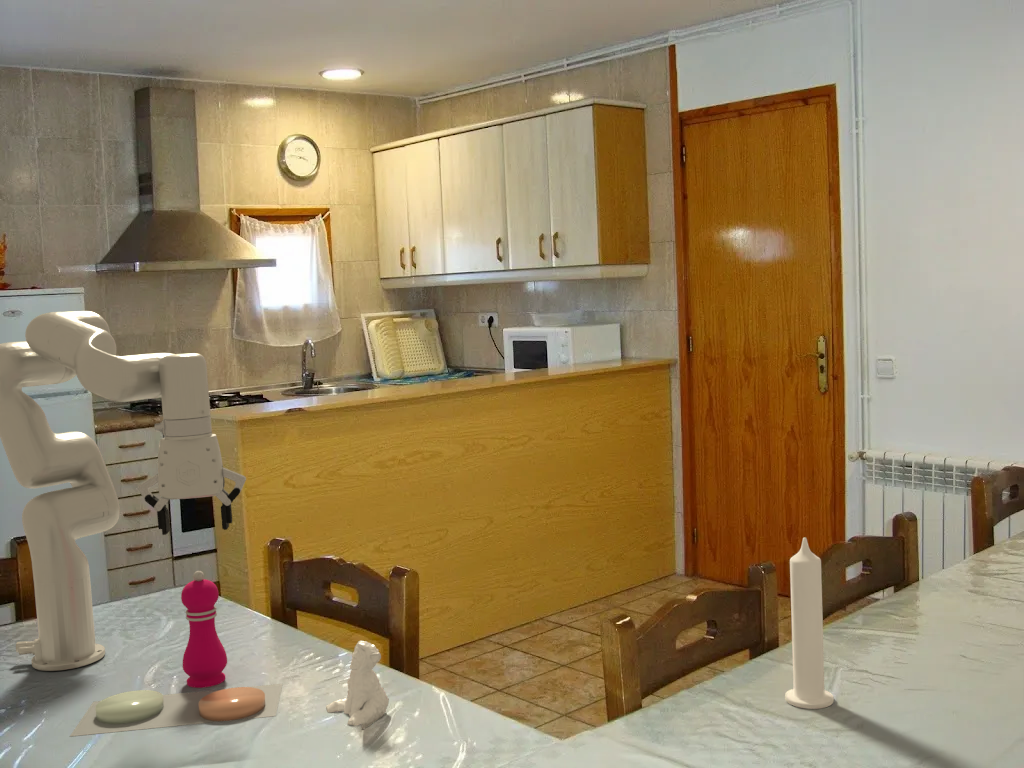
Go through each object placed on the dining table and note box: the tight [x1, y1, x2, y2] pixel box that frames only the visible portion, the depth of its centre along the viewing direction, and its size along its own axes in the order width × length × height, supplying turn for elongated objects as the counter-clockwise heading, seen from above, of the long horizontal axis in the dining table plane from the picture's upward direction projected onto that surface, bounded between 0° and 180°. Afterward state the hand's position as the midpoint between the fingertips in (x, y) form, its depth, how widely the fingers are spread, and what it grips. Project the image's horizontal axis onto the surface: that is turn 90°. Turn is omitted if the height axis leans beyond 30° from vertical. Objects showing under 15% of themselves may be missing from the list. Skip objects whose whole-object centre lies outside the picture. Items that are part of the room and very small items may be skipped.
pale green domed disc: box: [95, 689, 164, 724], centre depth 166 cm, size 10×10×2 cm
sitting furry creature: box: [325, 640, 390, 731], centre depth 161 cm, size 10×9×12 cm
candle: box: [784, 536, 835, 710], centre depth 159 cm, size 7×7×25 cm
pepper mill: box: [180, 570, 228, 689], centre depth 177 cm, size 7×7×20 cm
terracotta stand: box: [199, 686, 265, 722], centre depth 165 cm, size 10×10×2 cm
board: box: [69, 683, 284, 738], centre depth 166 cm, size 30×14×1 cm, turn 98°
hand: (196, 530), depth 176 cm, fingers open, 9 cm apart
